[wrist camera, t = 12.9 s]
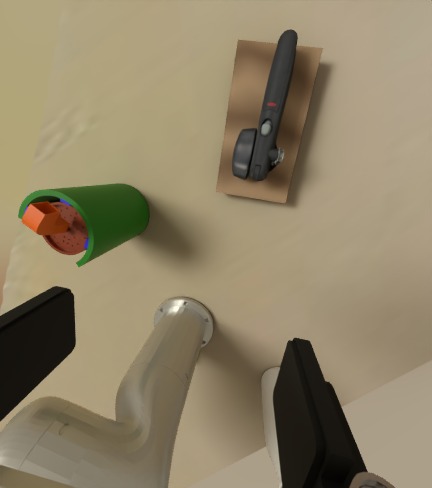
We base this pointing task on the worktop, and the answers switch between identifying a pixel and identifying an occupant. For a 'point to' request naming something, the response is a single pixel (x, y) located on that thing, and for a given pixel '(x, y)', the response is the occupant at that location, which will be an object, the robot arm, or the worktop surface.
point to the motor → (86, 217)
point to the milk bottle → (270, 417)
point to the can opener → (267, 117)
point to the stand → (249, 110)
